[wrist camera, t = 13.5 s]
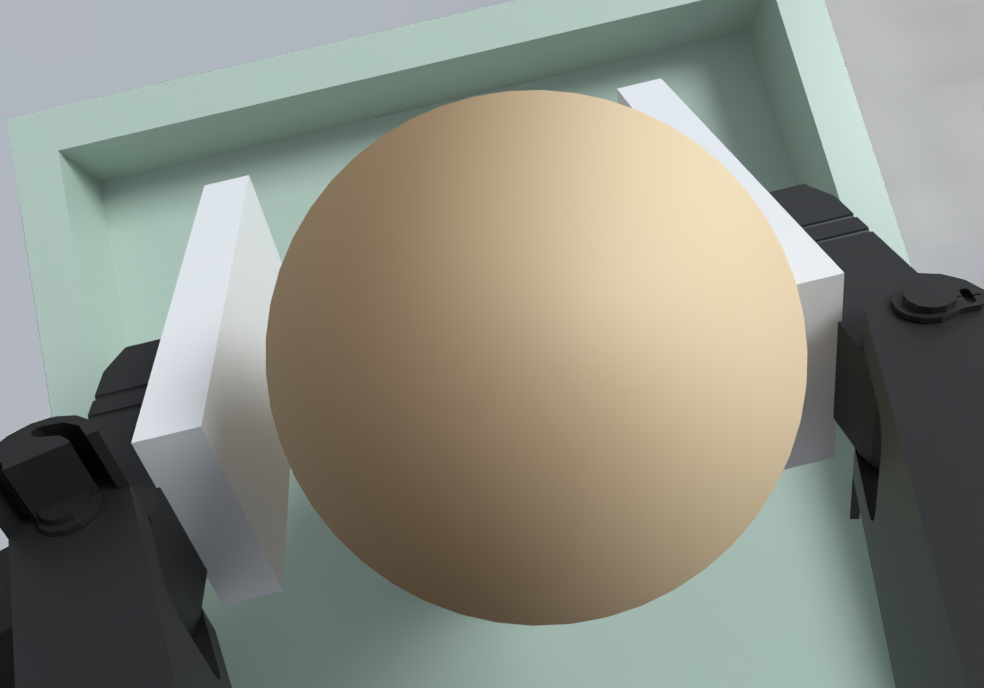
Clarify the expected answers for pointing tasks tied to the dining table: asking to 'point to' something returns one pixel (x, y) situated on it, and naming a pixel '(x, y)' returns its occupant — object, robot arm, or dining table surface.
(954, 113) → the dining table surface
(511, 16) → the tray
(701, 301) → the dowel
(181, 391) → the robot arm
